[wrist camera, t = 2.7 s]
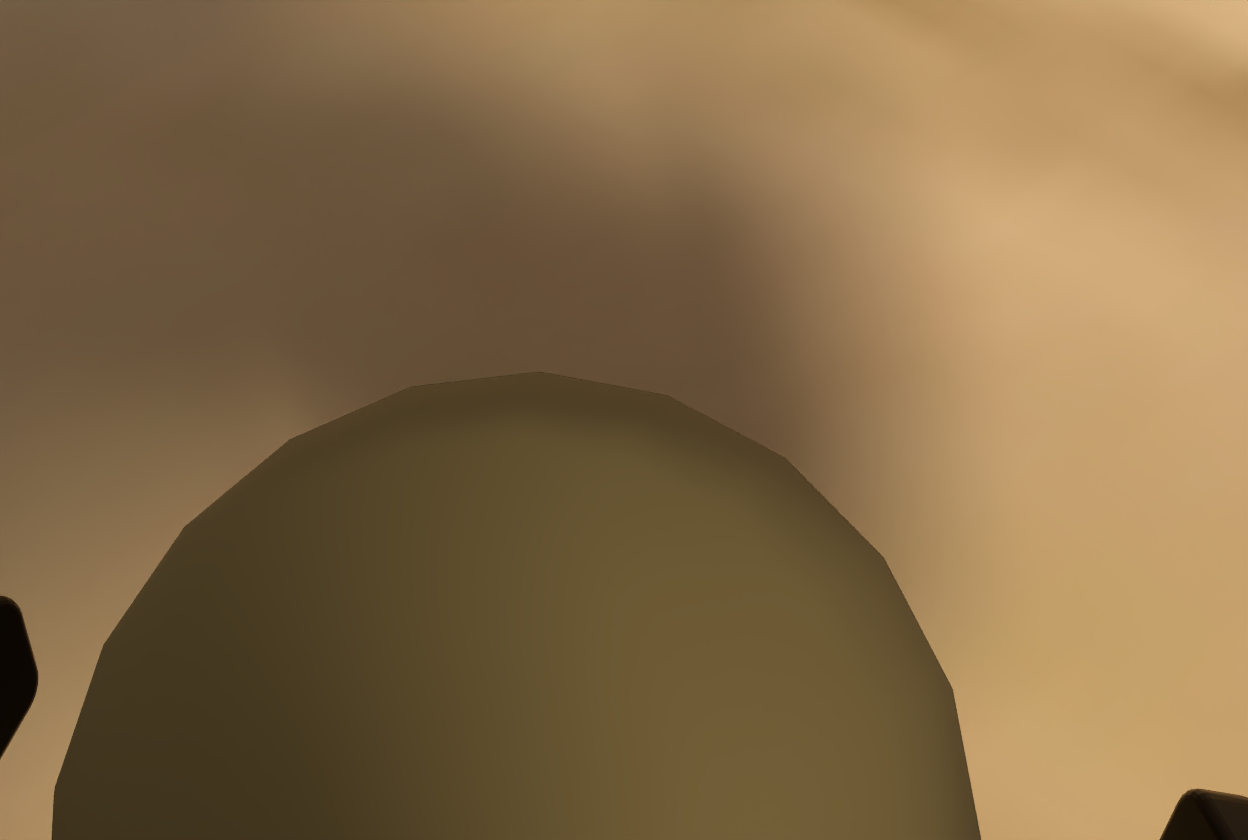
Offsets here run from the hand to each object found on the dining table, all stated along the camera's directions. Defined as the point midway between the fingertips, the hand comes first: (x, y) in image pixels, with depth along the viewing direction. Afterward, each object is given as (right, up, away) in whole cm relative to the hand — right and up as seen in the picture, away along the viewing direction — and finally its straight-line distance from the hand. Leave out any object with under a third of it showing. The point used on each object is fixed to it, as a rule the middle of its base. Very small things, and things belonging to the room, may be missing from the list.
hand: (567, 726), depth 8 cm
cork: (0, -3, +7) cm, 8 cm away
